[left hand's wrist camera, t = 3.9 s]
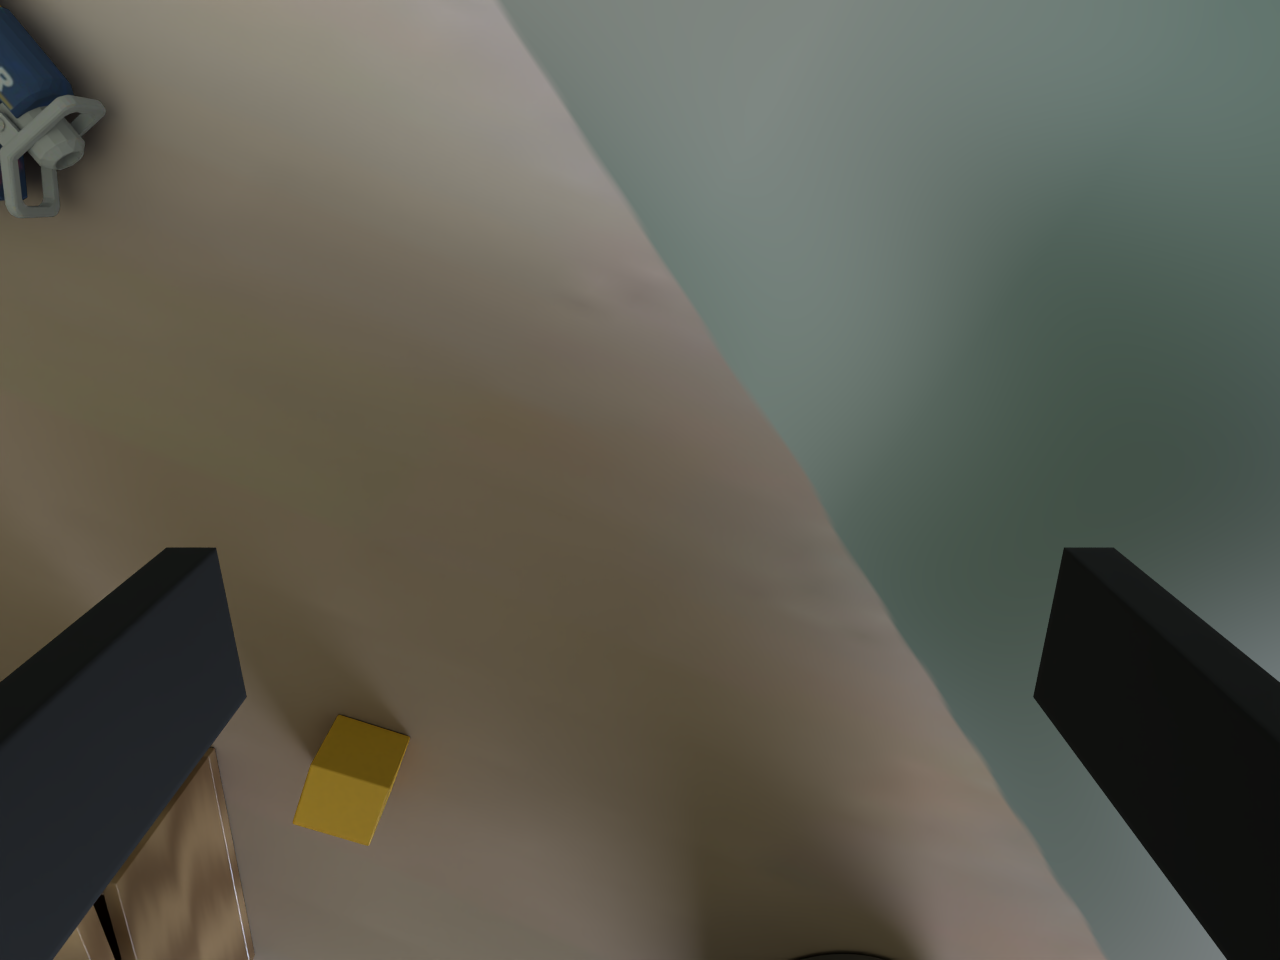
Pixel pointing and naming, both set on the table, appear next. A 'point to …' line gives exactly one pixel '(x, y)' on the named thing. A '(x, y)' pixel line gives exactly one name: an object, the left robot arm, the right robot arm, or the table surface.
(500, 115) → the table surface
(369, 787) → the block
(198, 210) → the table surface
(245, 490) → the table surface
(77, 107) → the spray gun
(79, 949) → the lid
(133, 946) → the chest
